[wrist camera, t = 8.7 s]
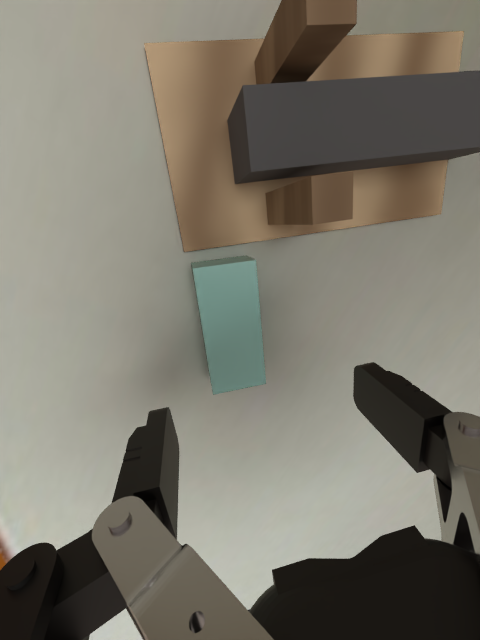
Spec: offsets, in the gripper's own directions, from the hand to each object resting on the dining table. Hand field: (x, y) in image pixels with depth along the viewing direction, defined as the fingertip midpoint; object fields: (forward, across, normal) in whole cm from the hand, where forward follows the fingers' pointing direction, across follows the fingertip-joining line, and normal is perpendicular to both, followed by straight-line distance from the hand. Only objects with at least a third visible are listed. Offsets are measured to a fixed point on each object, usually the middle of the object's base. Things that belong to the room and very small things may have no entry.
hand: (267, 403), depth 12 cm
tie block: (+11, 0, 0) cm, 11 cm away
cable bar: (+10, -10, -11) cm, 18 cm away
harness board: (+11, -8, -11) cm, 17 cm away
